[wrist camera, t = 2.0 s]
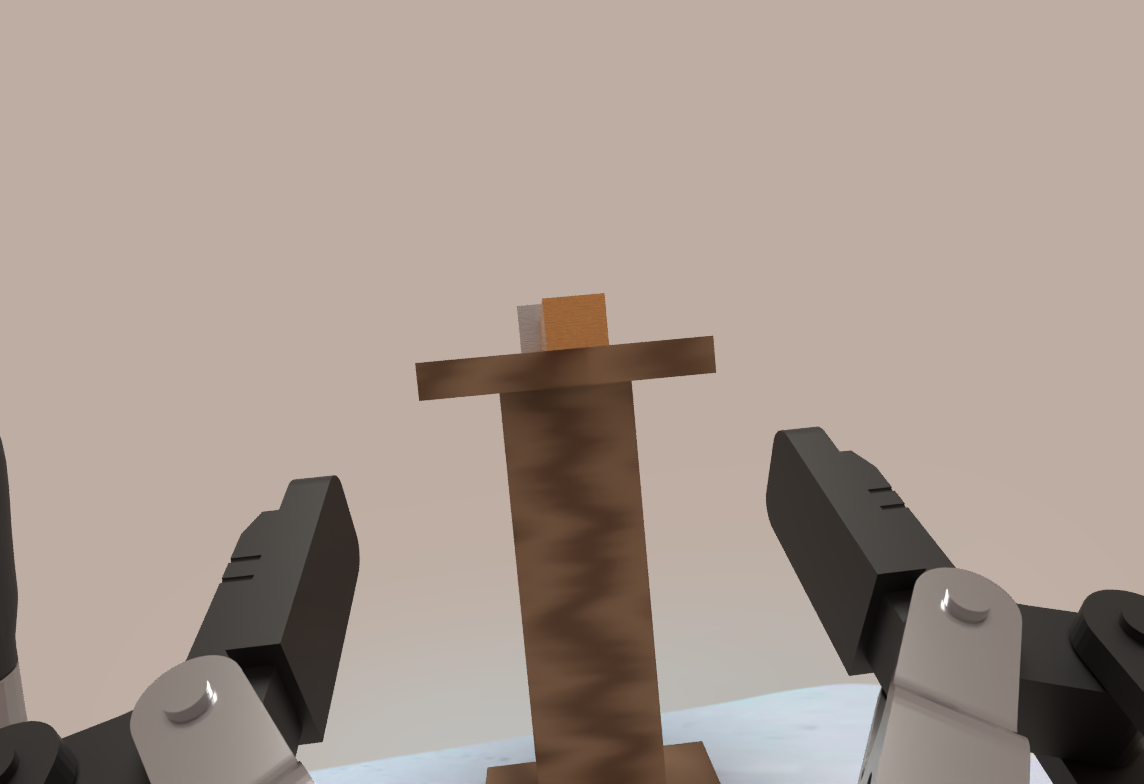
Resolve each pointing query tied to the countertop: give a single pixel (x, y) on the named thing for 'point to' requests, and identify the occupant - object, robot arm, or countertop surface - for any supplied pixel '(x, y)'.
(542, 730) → the wooden pedestal
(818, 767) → the countertop surface
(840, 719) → the countertop surface
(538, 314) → the wooden handled hammer
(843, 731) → the countertop surface
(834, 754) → the countertop surface
